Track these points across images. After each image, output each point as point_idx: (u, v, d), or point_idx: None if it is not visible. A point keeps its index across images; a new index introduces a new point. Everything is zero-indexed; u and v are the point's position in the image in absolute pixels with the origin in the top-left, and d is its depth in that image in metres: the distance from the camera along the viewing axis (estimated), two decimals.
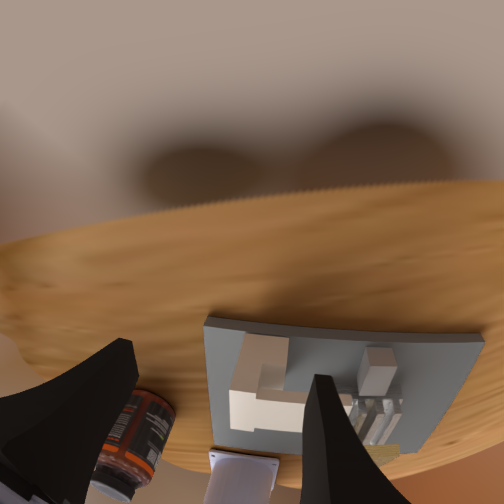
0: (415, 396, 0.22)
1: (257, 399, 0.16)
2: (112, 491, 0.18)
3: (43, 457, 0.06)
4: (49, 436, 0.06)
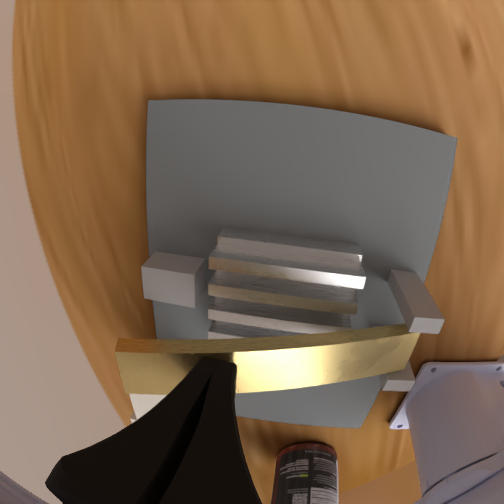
0: (255, 191, 0.16)
1: (137, 419, 0.16)
2: None
3: None
4: (161, 482, 0.06)
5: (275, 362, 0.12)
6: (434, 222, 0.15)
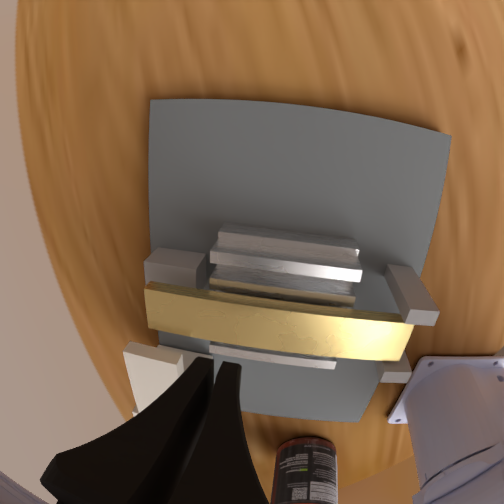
0: (254, 188, 0.16)
1: None
2: None
3: None
4: (155, 481, 0.06)
5: (269, 321, 0.14)
6: (429, 218, 0.15)
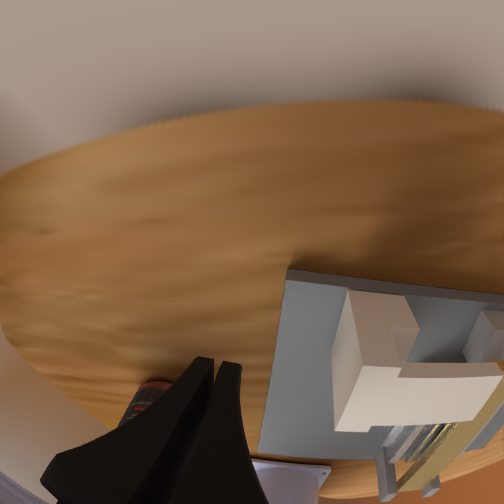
0: None
1: (399, 378, 0.10)
2: None
3: None
4: (155, 481, 0.06)
5: (463, 441, 0.13)
6: None
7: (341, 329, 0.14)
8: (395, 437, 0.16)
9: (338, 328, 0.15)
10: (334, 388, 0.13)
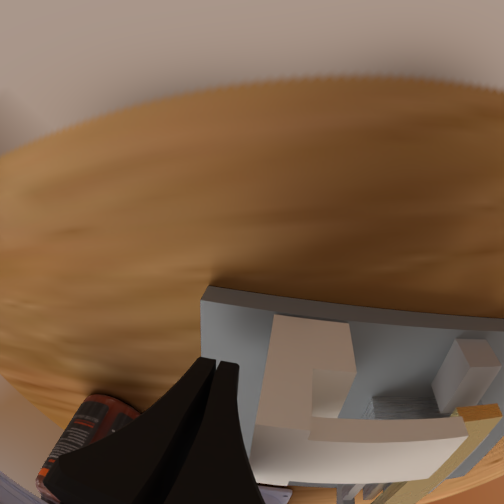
0: None
1: (310, 440, 0.08)
2: None
3: None
4: (158, 482, 0.06)
5: (427, 486, 0.11)
6: None
7: None
8: None
9: None
10: None
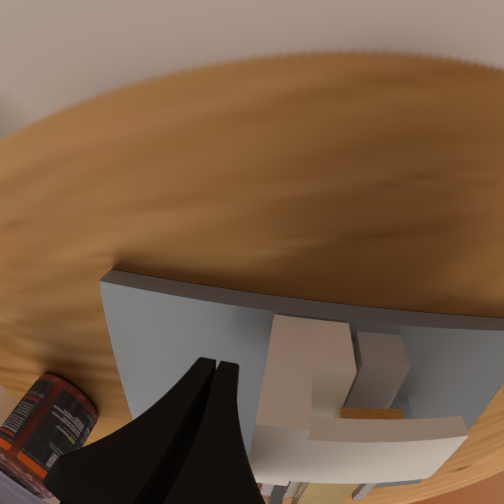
0: (428, 413, 0.14)
1: (310, 440, 0.08)
2: None
3: None
4: (159, 482, 0.06)
5: (339, 492, 0.11)
6: None
7: None
8: None
9: None
10: None
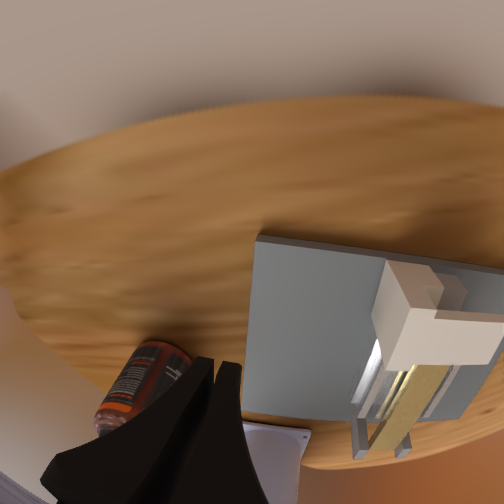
0: None
1: (434, 319, 0.13)
2: None
3: None
4: (155, 481, 0.06)
5: (424, 395, 0.17)
6: (422, 419, 0.23)
7: (382, 291, 0.18)
8: (362, 392, 0.20)
9: (378, 292, 0.19)
10: (379, 339, 0.17)
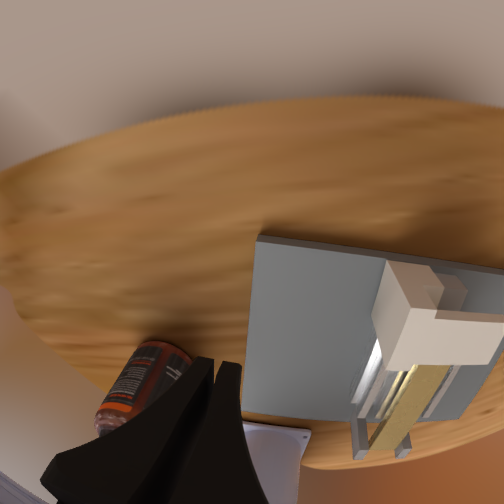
0: None
1: (435, 319, 0.13)
2: None
3: None
4: (155, 481, 0.06)
5: (424, 395, 0.17)
6: (422, 419, 0.23)
7: (382, 292, 0.18)
8: (362, 392, 0.20)
9: (378, 292, 0.19)
10: (380, 339, 0.17)
